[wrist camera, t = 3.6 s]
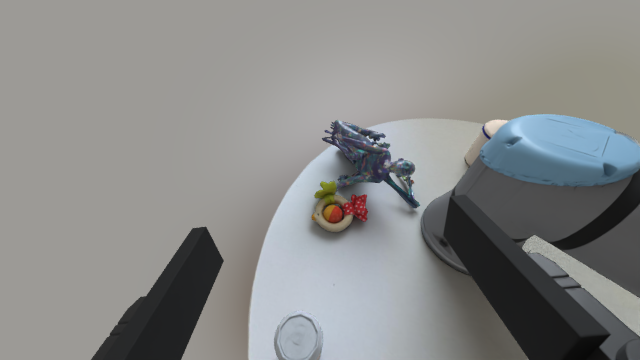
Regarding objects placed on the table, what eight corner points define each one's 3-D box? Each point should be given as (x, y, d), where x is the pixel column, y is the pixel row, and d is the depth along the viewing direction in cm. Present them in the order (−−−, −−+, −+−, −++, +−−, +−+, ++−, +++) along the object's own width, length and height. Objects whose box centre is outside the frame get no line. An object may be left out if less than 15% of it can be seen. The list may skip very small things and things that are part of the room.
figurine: (332, 211, 51) (340, 152, 61) (420, 210, 45) (413, 144, 54) (297, 155, 36) (315, 88, 45) (423, 141, 30) (413, 66, 39)
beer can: (279, 359, 30) (262, 353, 21) (296, 320, 33) (287, 300, 24) (312, 378, 29) (310, 381, 19) (326, 336, 31) (330, 322, 22)
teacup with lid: (512, 179, 51) (553, 138, 42) (469, 174, 51) (501, 133, 43) (492, 144, 58) (523, 103, 50) (456, 141, 59) (480, 100, 50)
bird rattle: (300, 218, 45) (323, 183, 48) (348, 248, 44) (368, 210, 47) (300, 209, 39) (326, 170, 43) (356, 244, 38) (378, 200, 41)
